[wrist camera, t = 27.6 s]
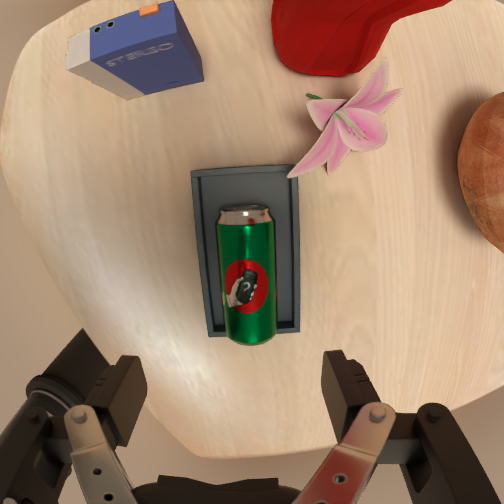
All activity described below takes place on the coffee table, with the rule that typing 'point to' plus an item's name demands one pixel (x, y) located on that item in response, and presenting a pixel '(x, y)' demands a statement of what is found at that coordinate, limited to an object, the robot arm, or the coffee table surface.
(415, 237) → the coffee table surface
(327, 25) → the water bottle
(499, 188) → the jug
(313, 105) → the lily
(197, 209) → the tray
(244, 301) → the soda can
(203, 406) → the coffee table surface
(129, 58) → the walkman
